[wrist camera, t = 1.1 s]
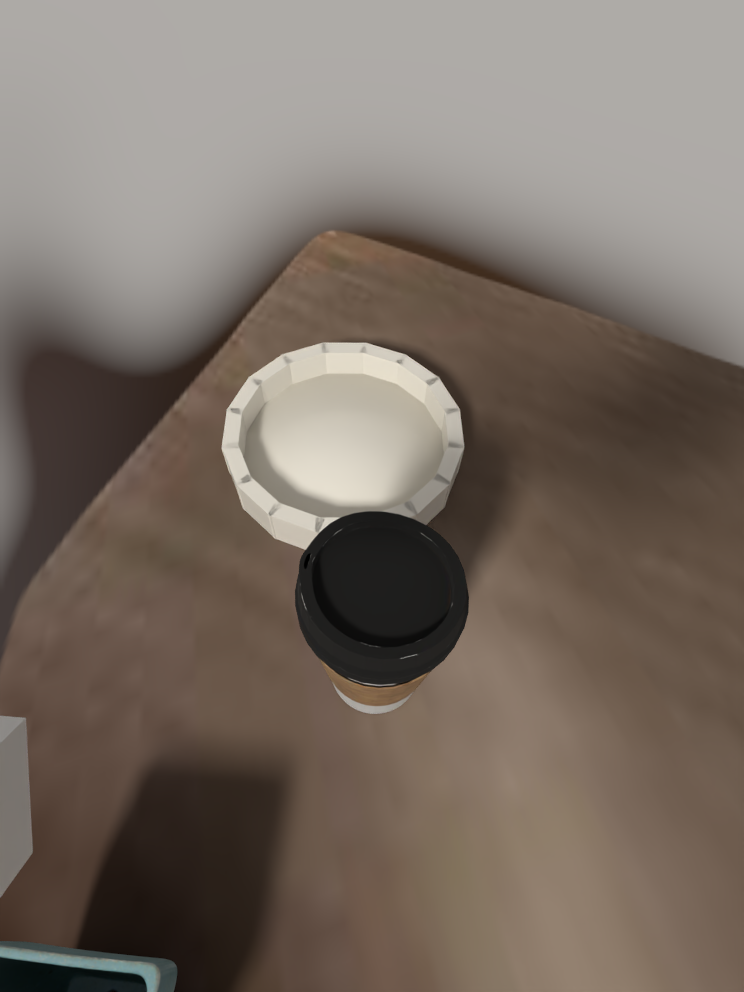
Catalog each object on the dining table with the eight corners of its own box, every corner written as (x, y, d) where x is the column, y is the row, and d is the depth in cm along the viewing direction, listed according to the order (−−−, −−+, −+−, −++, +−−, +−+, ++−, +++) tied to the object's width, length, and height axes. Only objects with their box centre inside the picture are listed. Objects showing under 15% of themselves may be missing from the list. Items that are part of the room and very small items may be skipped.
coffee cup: (329, 597, 43) (318, 484, 30) (446, 623, 42) (486, 517, 29) (296, 717, 38) (266, 644, 26) (426, 748, 38) (462, 689, 25)
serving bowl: (345, 340, 56) (344, 311, 53) (502, 453, 50) (511, 427, 47) (185, 454, 49) (173, 427, 46) (343, 603, 42) (342, 584, 39)
